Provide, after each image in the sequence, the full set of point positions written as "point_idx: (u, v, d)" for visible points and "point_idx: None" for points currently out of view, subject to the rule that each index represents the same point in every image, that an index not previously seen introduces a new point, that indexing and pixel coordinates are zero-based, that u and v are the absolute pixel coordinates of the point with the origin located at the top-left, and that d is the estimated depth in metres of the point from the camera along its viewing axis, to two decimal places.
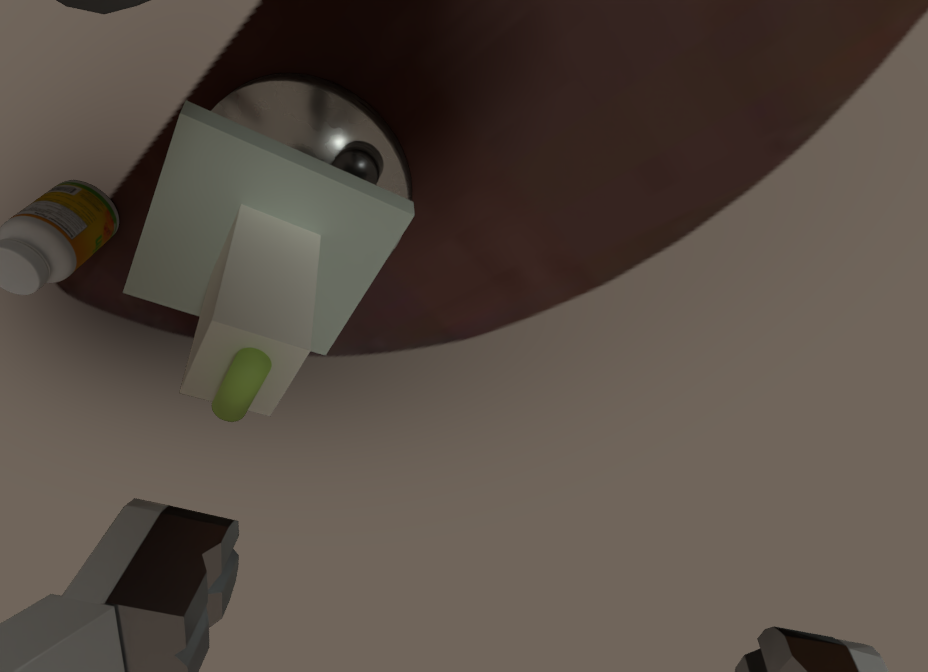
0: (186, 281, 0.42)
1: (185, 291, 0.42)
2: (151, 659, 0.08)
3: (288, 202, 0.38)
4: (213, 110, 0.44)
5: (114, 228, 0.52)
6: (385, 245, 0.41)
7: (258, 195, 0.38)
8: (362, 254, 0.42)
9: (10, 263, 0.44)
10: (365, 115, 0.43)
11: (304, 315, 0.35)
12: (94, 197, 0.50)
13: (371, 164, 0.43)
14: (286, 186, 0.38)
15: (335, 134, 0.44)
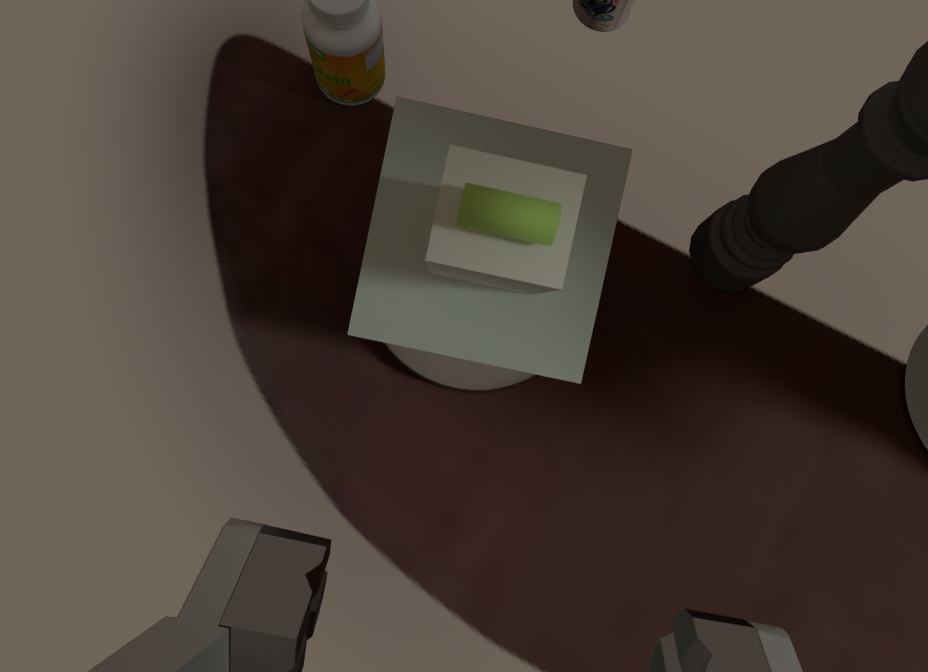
0: (430, 163, 0.37)
1: (415, 162, 0.37)
2: None
3: None
4: None
5: (346, 100, 0.49)
6: (535, 364, 0.38)
7: None
8: (517, 343, 0.38)
9: None
10: None
11: None
12: (379, 82, 0.49)
13: None
14: (581, 251, 0.38)
15: None
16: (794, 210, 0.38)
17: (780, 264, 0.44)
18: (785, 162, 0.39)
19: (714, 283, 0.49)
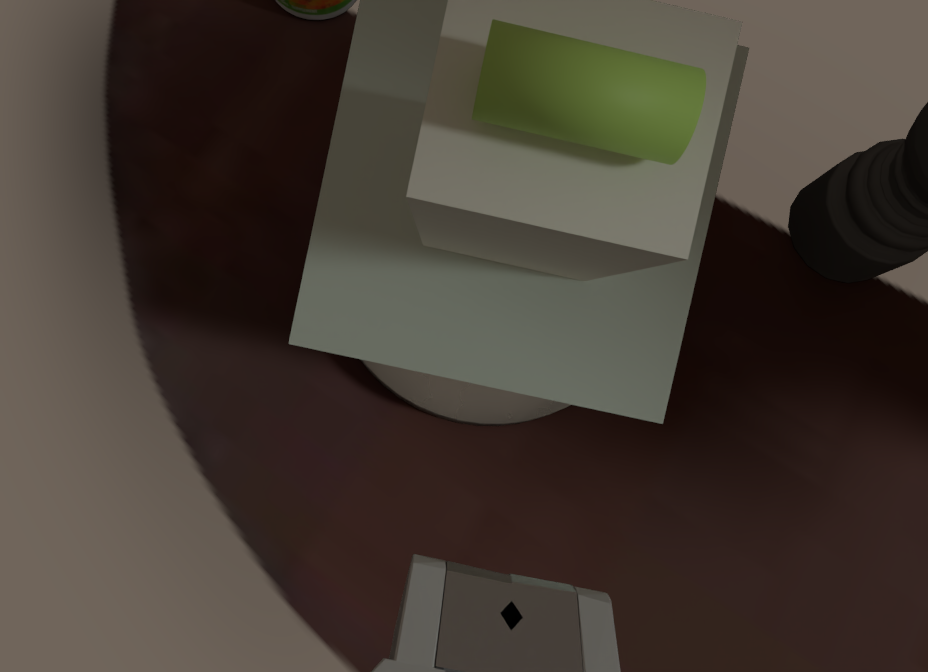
0: (423, 66, 0.23)
1: (399, 66, 0.23)
2: None
3: None
4: None
5: (307, 10, 0.35)
6: (590, 392, 0.24)
7: None
8: (561, 358, 0.23)
9: None
10: None
11: None
12: None
13: None
14: None
15: None
16: None
17: None
18: None
19: (826, 270, 0.34)
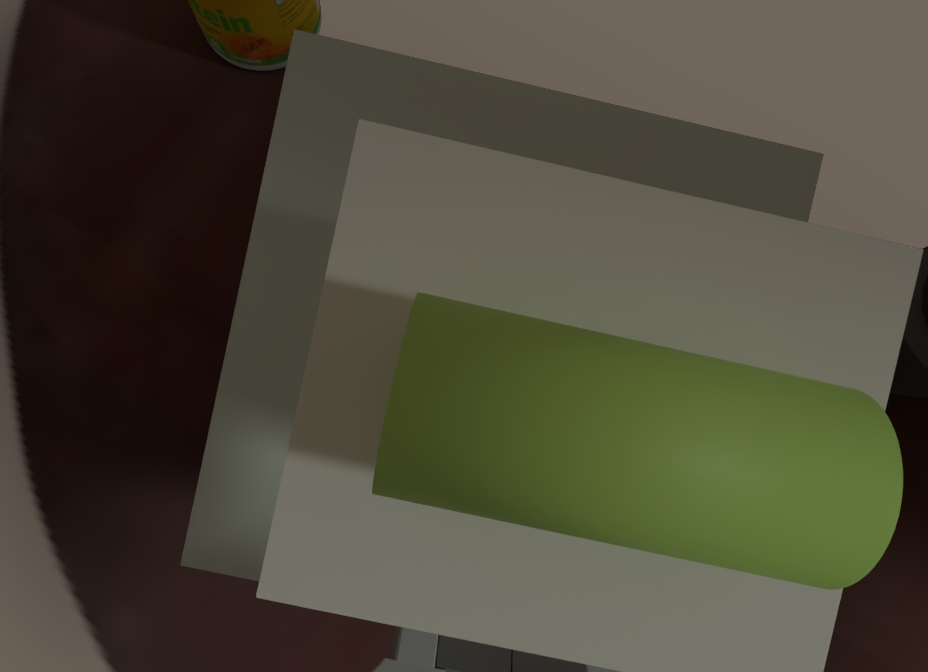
0: None
1: (336, 179, 0.16)
2: None
3: None
4: None
5: (250, 60, 0.28)
6: None
7: None
8: None
9: None
10: None
11: None
12: (309, 30, 0.28)
13: None
14: None
15: None
16: None
17: None
18: None
19: None
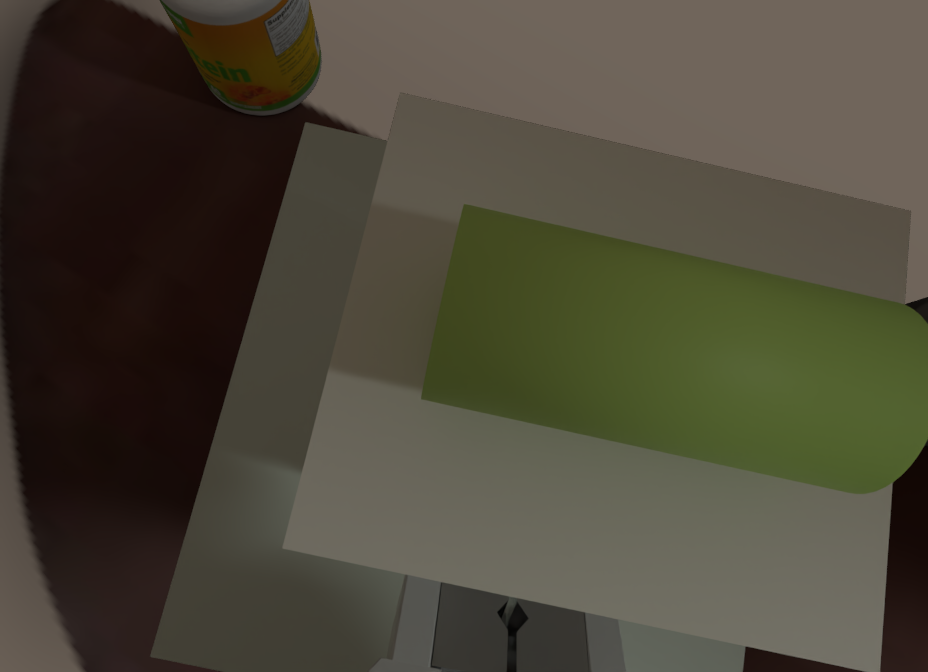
0: None
1: (339, 252, 0.17)
2: None
3: None
4: None
5: (250, 106, 0.28)
6: None
7: None
8: None
9: None
10: None
11: None
12: (309, 75, 0.28)
13: None
14: None
15: None
16: None
17: None
18: None
19: None
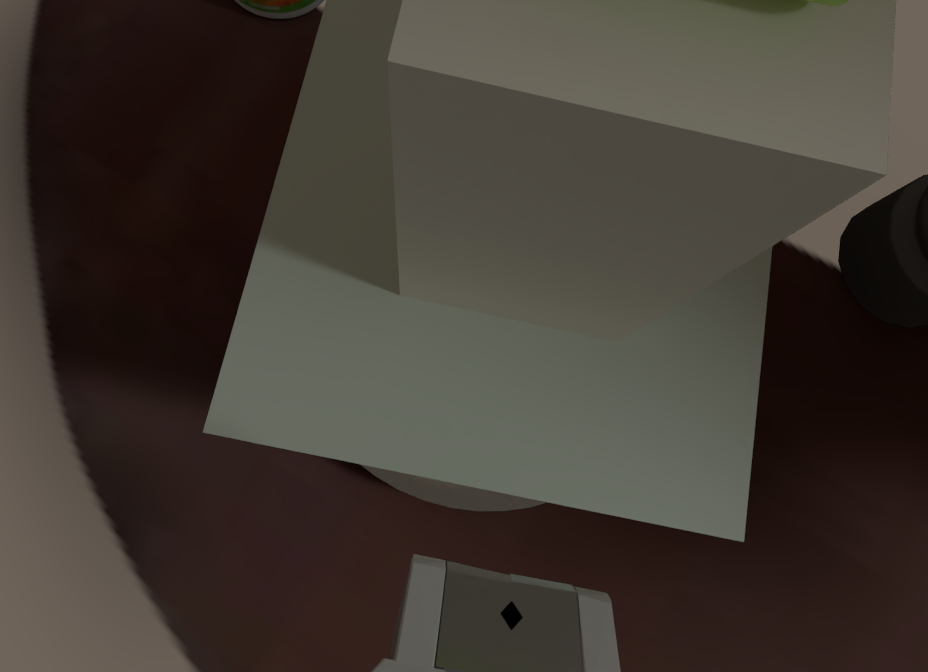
0: None
1: (370, 80, 0.18)
2: None
3: None
4: None
5: (268, 7, 0.29)
6: (638, 497, 0.17)
7: None
8: (594, 448, 0.17)
9: None
10: None
11: None
12: None
13: None
14: None
15: None
16: None
17: None
18: None
19: (885, 314, 0.29)
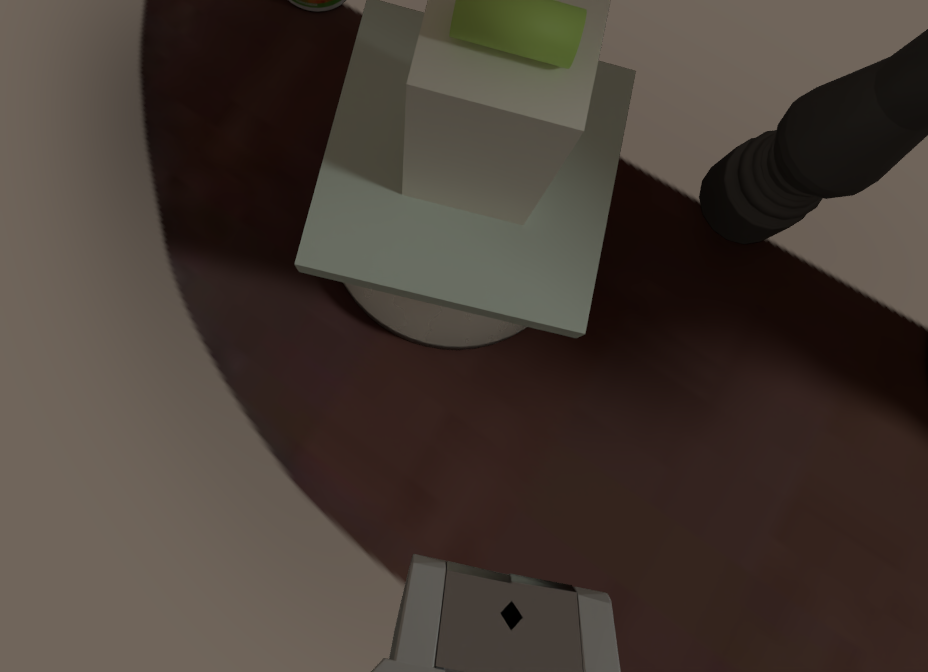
0: (405, 70, 0.31)
1: (387, 69, 0.31)
2: None
3: (560, 182, 0.32)
4: None
5: (309, 3, 0.41)
6: (529, 308, 0.30)
7: None
8: (506, 282, 0.31)
9: None
10: None
11: None
12: None
13: None
14: (582, 178, 0.32)
15: None
16: (833, 144, 0.32)
17: (804, 212, 0.39)
18: (824, 87, 0.33)
19: (726, 233, 0.43)
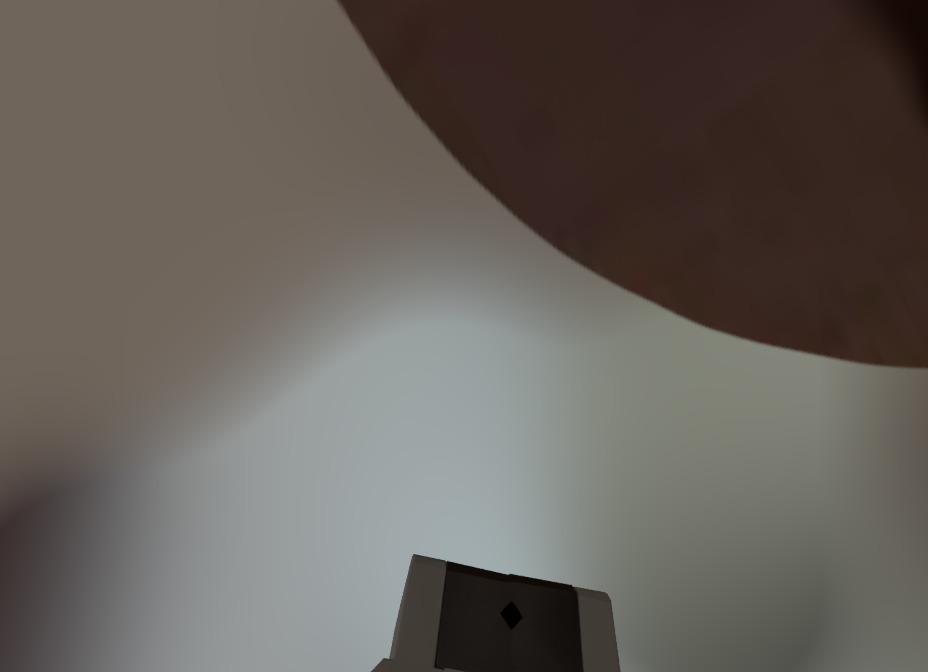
0: None
1: None
2: None
3: None
4: None
5: None
6: None
7: None
8: None
9: None
10: None
11: None
12: None
13: None
14: None
15: None
16: None
17: None
18: None
19: None
